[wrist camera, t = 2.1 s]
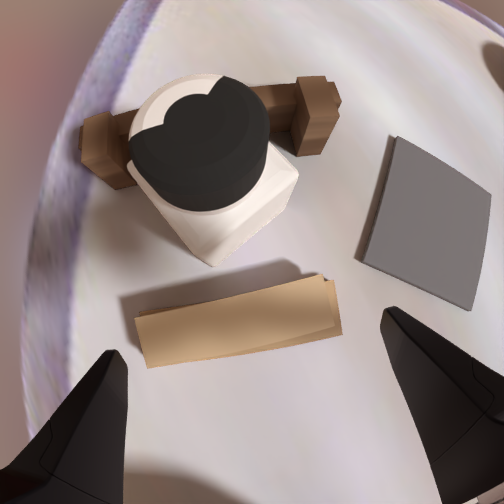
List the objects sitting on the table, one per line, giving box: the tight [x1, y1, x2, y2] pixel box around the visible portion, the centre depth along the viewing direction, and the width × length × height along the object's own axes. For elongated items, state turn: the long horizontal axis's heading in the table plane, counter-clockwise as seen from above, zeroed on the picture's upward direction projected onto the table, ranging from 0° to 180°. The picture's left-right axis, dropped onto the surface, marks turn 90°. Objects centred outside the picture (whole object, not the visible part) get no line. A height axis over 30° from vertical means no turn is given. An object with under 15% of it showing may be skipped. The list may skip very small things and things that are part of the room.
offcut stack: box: [134, 274, 343, 369], centre depth 20 cm, size 5×14×2 cm, turn 99°
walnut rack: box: [78, 76, 342, 190], centre depth 20 cm, size 4×20×6 cm, turn 100°
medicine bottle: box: [127, 74, 299, 267], centre depth 17 cm, size 7×7×12 cm
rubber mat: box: [361, 136, 491, 311], centre depth 23 cm, size 12×12×1 cm
